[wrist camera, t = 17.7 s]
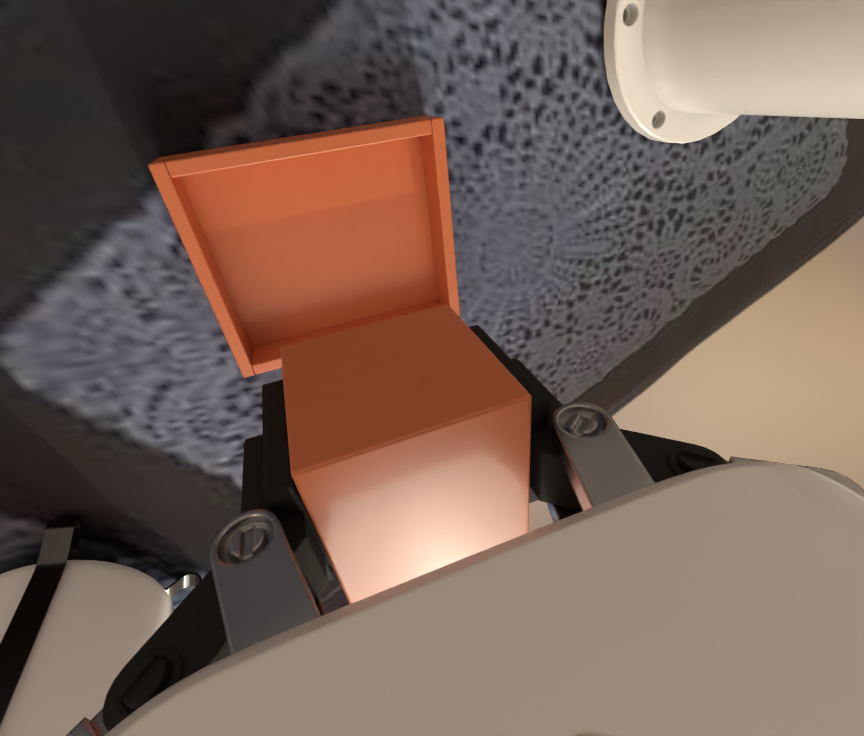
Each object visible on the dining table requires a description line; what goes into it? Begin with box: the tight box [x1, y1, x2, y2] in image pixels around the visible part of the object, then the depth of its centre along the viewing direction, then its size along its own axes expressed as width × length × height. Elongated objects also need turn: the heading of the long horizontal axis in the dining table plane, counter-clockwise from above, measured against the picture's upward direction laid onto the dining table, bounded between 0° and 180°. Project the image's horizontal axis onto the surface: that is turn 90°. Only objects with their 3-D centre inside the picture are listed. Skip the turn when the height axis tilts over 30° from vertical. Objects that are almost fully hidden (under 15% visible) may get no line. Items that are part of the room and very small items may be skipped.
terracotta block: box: [280, 304, 531, 604], centre depth 11 cm, size 5×5×5 cm
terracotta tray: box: [148, 115, 460, 377], centre depth 21 cm, size 12×10×2 cm
